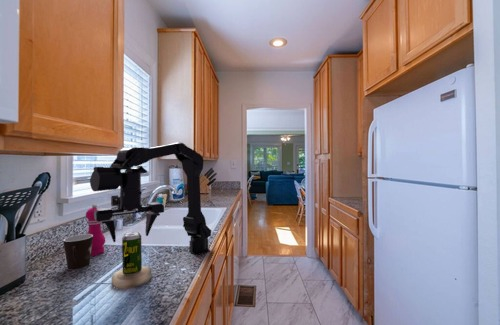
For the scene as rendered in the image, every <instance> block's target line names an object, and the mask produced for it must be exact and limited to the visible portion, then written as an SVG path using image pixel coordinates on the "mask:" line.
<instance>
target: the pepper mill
mask: <svg viewBox="0 0 500 325" xmlns="http://www.w3.org/2000/svg"><path fill="white" fill-rule="evenodd" d="M99 208H100V207H98V204H96V203H94V204H92V205H91V208H89V209H88V210H87V211H86V212H85V218H86V219H87V222H86V224H87V225H88V232H87V234H92V235H93V240H92V248H91V256H90V257H92V256H97V255H101V254H103V253H104V252H105V246H104V245H105V243H106V237H105V235H104V233H103V232H102V228H101V225H102V223H101V222H100V221H96V220H95V219H94V211H95V210H96V209H99Z"/></svg>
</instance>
